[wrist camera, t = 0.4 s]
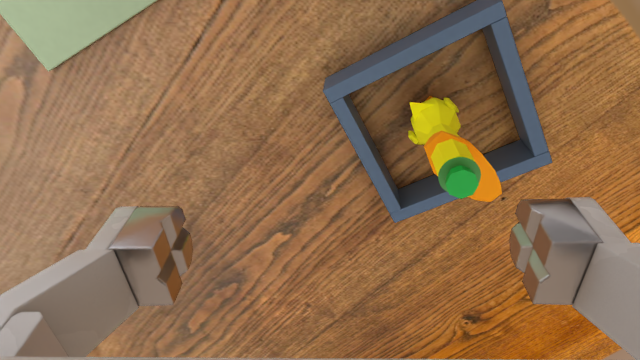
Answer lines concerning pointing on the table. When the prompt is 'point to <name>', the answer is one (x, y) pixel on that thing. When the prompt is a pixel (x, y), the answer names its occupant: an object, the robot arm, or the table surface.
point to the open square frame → (414, 47)
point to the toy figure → (452, 151)
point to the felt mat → (66, 24)
